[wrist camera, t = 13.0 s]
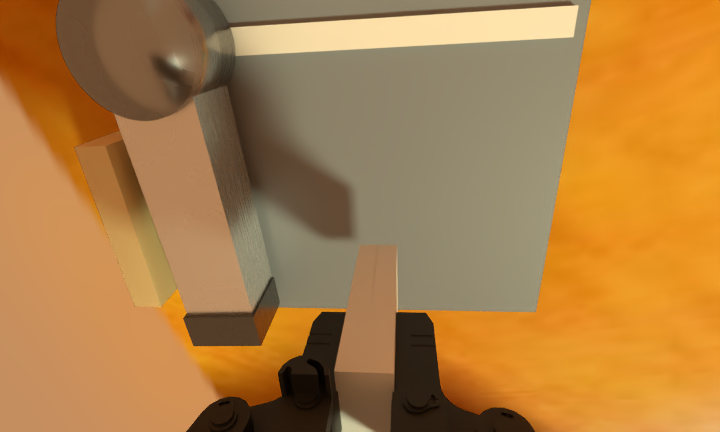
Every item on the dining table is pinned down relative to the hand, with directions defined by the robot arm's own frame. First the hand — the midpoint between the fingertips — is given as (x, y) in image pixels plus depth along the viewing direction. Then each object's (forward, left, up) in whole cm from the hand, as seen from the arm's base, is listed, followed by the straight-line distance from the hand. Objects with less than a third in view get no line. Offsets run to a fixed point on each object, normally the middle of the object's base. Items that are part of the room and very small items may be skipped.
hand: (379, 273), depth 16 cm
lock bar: (+4, +7, -2) cm, 9 cm away
